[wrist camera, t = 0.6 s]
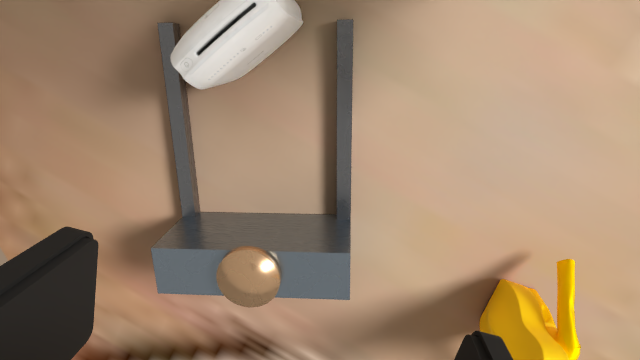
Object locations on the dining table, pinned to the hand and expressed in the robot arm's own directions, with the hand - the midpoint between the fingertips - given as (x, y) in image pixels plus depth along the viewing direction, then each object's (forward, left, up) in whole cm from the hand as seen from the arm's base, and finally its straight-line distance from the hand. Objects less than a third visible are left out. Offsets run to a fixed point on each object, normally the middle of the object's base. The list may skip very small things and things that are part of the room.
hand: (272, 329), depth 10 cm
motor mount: (+4, -7, -33) cm, 34 cm away
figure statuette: (+22, +20, -34) cm, 45 cm away
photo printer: (-8, -7, -34) cm, 35 cm away
